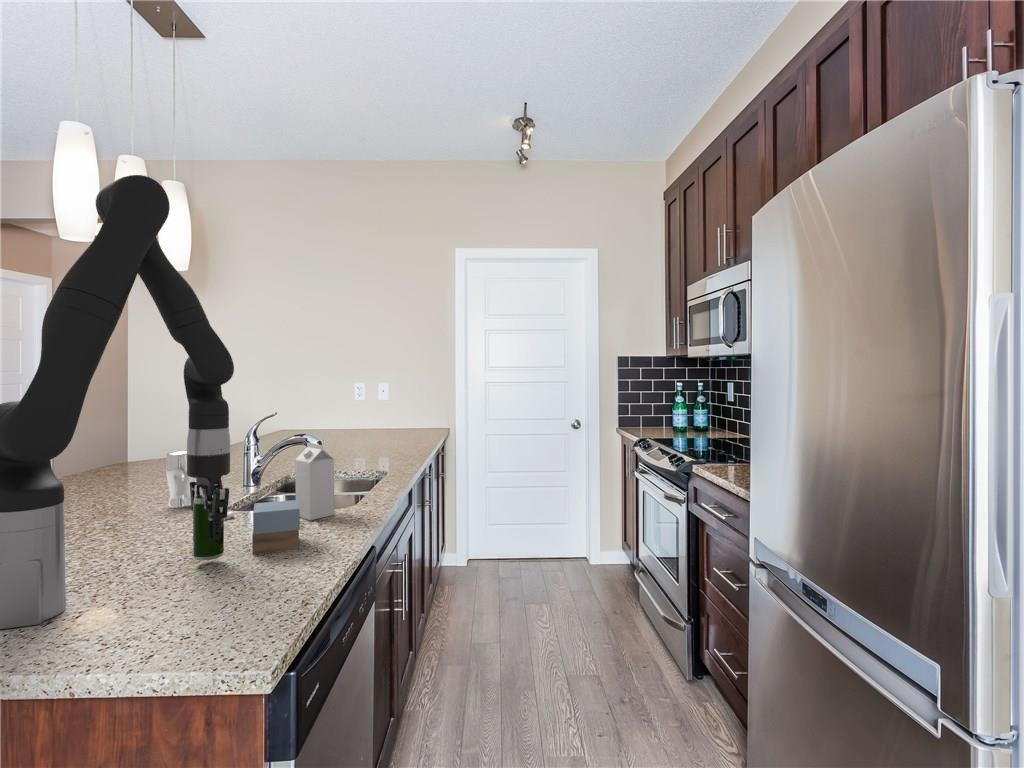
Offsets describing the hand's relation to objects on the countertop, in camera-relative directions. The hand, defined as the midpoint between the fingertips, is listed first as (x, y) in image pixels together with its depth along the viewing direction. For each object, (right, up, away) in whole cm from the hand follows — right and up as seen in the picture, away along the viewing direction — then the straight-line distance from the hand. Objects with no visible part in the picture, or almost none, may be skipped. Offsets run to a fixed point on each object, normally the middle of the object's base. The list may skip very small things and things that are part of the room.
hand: (208, 536), depth 111 cm
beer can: (0, -4, 0) cm, 4 cm away
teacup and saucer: (-16, -5, +32) cm, 36 cm away
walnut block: (+9, -5, +11) cm, 15 cm away
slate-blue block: (+9, -1, +11) cm, 14 cm away
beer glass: (-34, -5, +48) cm, 59 cm away
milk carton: (+8, -5, +37) cm, 38 cm away
